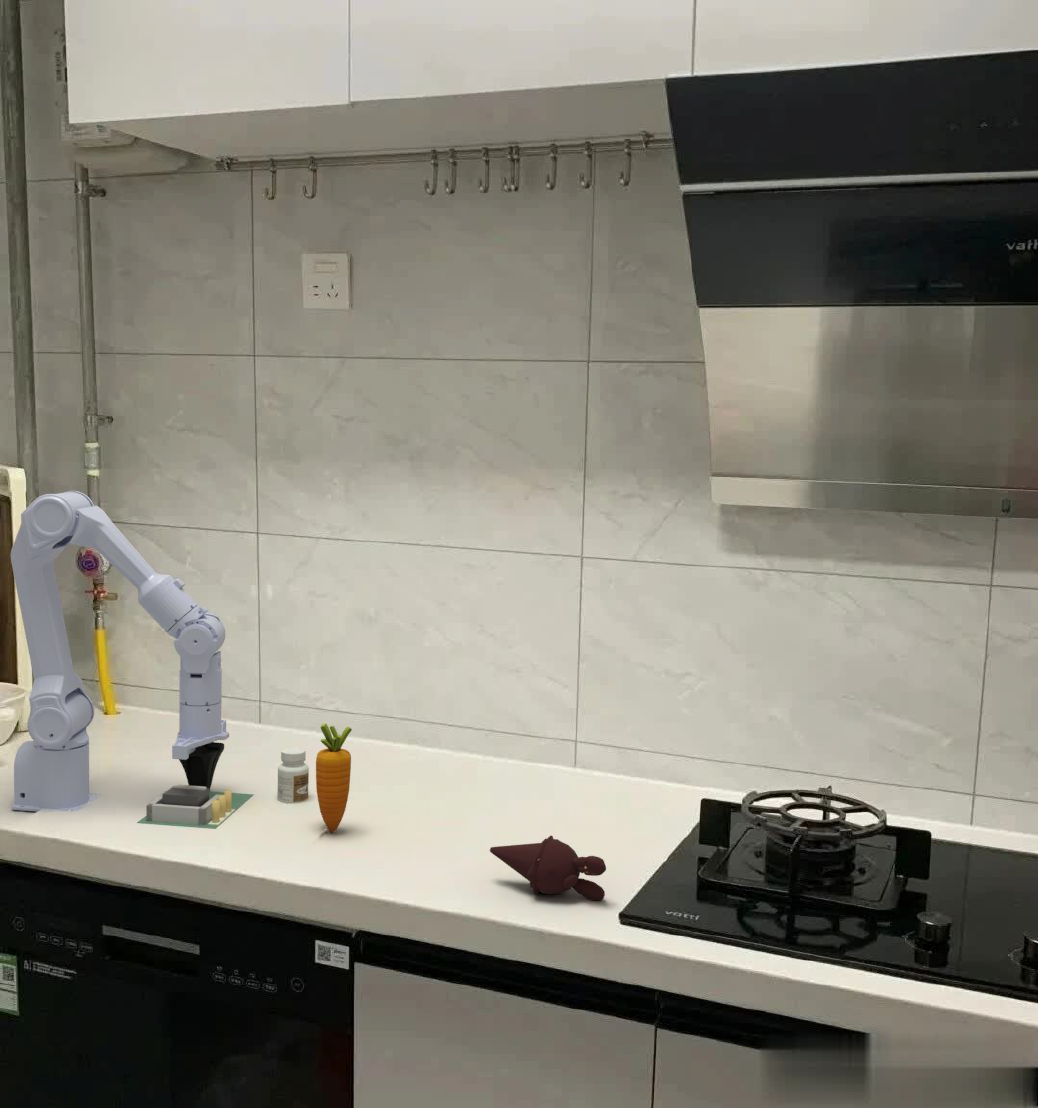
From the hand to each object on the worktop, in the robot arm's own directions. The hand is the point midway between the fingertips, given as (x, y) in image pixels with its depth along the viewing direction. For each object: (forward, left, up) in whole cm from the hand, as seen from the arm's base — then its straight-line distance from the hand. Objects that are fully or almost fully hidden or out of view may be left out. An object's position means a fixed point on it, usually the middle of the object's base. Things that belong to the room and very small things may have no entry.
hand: (200, 795), depth 165 cm
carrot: (+21, -6, -2) cm, 22 cm away
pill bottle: (+12, +5, -2) cm, 13 cm away
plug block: (0, -6, -1) cm, 6 cm away
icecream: (+51, -21, -2) cm, 55 cm away
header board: (0, -2, -2) cm, 3 cm away
